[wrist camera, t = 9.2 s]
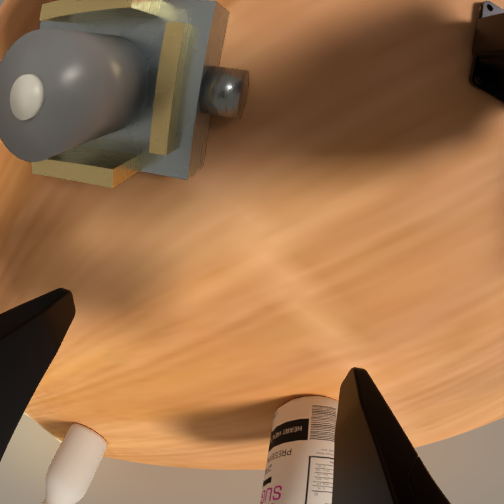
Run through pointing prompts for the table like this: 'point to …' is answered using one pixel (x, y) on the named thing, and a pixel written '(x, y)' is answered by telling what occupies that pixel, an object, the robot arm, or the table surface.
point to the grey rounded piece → (67, 90)
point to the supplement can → (301, 452)
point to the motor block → (154, 87)
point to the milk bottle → (74, 465)
